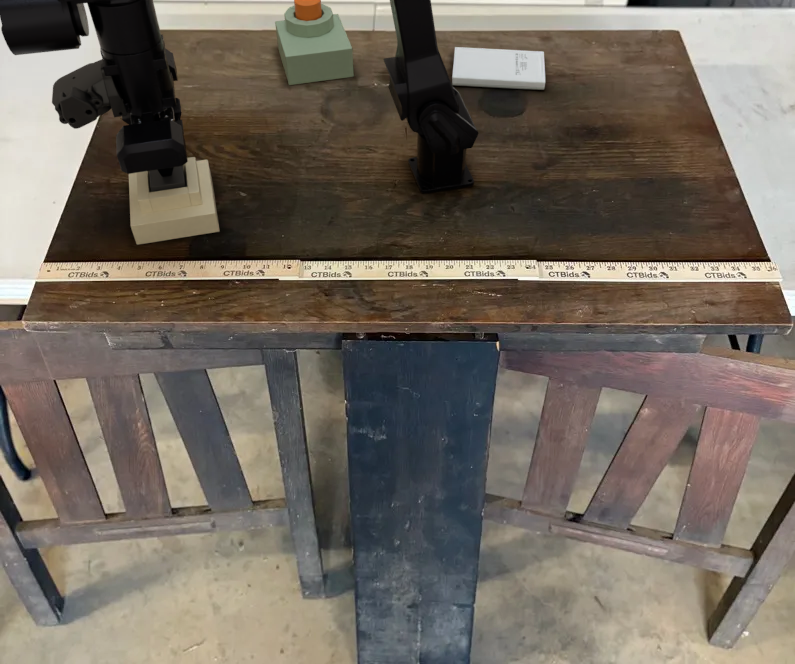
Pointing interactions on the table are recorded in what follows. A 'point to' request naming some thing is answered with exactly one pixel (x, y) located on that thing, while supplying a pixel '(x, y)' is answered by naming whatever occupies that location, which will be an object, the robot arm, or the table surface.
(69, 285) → the table surface
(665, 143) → the table surface
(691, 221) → the table surface
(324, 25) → the far pedestal
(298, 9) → the far key
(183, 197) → the stepped pyramid pedestal
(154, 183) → the near key
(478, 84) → the hard drive
